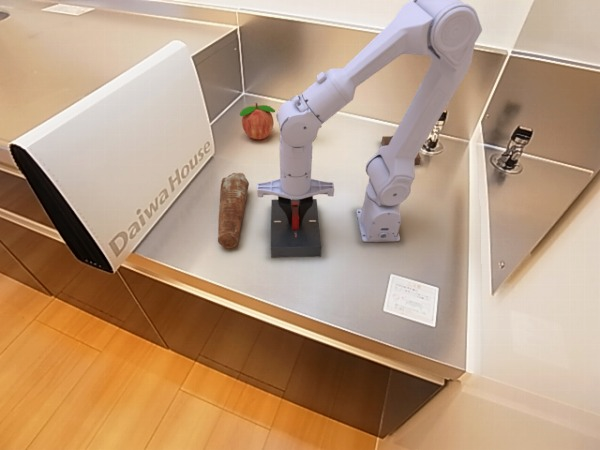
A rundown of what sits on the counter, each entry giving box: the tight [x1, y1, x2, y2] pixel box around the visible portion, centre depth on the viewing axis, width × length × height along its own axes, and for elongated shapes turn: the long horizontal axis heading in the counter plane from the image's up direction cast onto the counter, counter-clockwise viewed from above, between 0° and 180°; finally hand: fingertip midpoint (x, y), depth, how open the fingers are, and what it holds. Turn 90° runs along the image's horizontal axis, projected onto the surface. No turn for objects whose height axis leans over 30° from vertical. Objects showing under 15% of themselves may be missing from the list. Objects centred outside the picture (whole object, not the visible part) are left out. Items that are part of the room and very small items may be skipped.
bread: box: [217, 172, 250, 249], centre depth 79 cm, size 6×19×6 cm, turn 0°
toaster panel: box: [270, 198, 323, 258], centre depth 78 cm, size 14×10×3 cm
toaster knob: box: [291, 202, 299, 229], centre depth 75 cm, size 4×1×4 cm, turn 2°
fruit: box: [239, 102, 276, 140], centre depth 101 cm, size 9×10×10 cm
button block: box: [380, 135, 422, 166], centre depth 98 cm, size 10×8×4 cm
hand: (295, 220), depth 76 cm, fingers closed on toaster knob
